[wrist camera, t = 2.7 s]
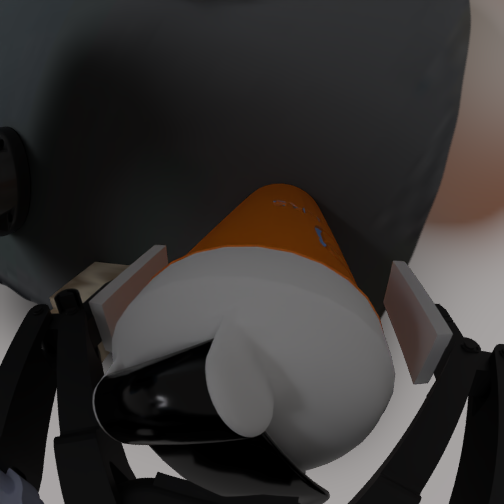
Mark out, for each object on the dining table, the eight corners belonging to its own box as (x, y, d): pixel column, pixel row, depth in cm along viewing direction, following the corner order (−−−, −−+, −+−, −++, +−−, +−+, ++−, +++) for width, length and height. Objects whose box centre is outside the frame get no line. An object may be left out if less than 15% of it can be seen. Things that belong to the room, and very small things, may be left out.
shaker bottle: (272, 290, 26) (227, 518, 8) (206, 217, 24) (35, 405, 6) (354, 235, 23) (447, 474, 4) (288, 148, 21) (234, 236, 2)
